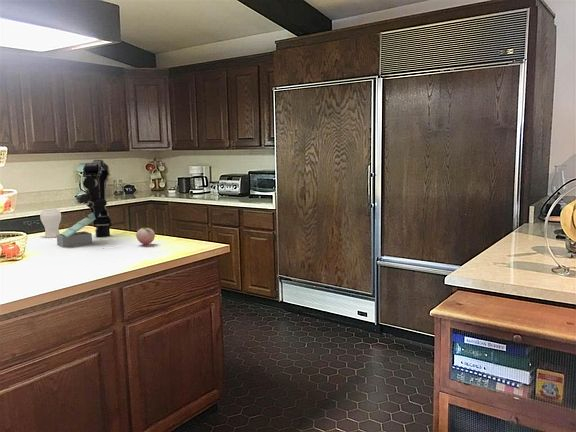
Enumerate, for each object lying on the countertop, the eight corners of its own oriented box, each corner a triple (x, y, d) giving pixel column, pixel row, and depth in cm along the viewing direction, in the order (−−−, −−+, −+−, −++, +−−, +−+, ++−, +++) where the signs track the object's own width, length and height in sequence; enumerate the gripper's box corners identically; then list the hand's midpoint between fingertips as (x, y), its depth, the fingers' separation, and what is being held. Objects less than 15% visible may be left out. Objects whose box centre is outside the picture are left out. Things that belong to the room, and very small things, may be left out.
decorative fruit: (159, 244, 242) (158, 225, 241) (146, 247, 236) (145, 227, 234) (146, 243, 248) (145, 224, 246) (133, 245, 241) (132, 226, 239)
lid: (96, 214, 250) (93, 209, 249) (103, 216, 242) (100, 211, 241) (62, 236, 240) (59, 231, 239) (68, 238, 232) (65, 233, 231)
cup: (47, 238, 263) (45, 211, 261) (38, 237, 269) (36, 210, 267) (66, 236, 271) (64, 209, 269) (56, 234, 278) (54, 208, 276)
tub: (85, 242, 251) (85, 231, 250) (92, 245, 244) (91, 233, 243) (57, 246, 242) (56, 234, 241) (63, 249, 235) (62, 237, 234)
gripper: (71, 188, 245) (73, 218, 247) (82, 189, 231) (85, 221, 233) (93, 186, 252) (95, 216, 254) (106, 188, 238) (108, 219, 240)
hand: (95, 218), depth 245 cm, fingers closed on lid, 3 cm apart
